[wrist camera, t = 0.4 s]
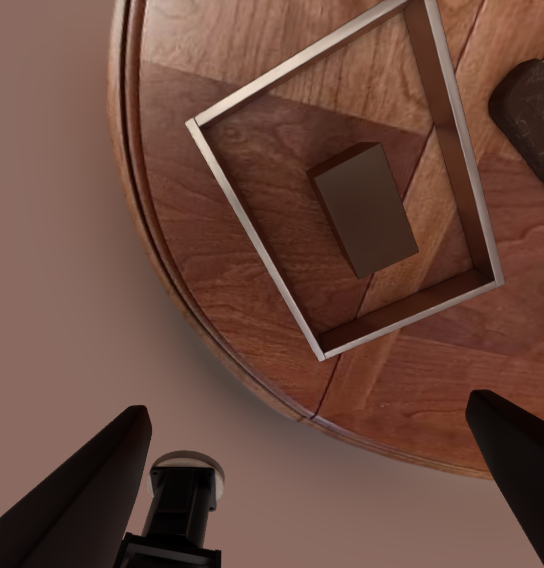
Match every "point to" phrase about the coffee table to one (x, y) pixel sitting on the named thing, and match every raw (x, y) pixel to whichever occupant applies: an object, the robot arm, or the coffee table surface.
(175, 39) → the coffee table surface
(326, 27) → the coffee table surface
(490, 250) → the rectangular frame
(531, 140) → the ice cream bar
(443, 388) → the coffee table surface
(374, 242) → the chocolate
